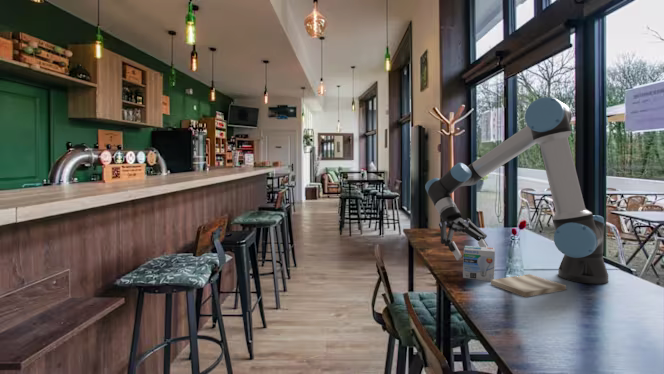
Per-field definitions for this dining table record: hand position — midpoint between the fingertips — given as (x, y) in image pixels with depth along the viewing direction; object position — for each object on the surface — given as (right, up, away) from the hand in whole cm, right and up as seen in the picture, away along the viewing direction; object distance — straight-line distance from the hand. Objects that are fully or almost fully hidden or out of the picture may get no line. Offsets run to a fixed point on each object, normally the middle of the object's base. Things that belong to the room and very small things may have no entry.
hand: (474, 256), depth 142 cm
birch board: (+13, -8, -12) cm, 20 cm away
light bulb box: (+1, -8, -1) cm, 8 cm away
